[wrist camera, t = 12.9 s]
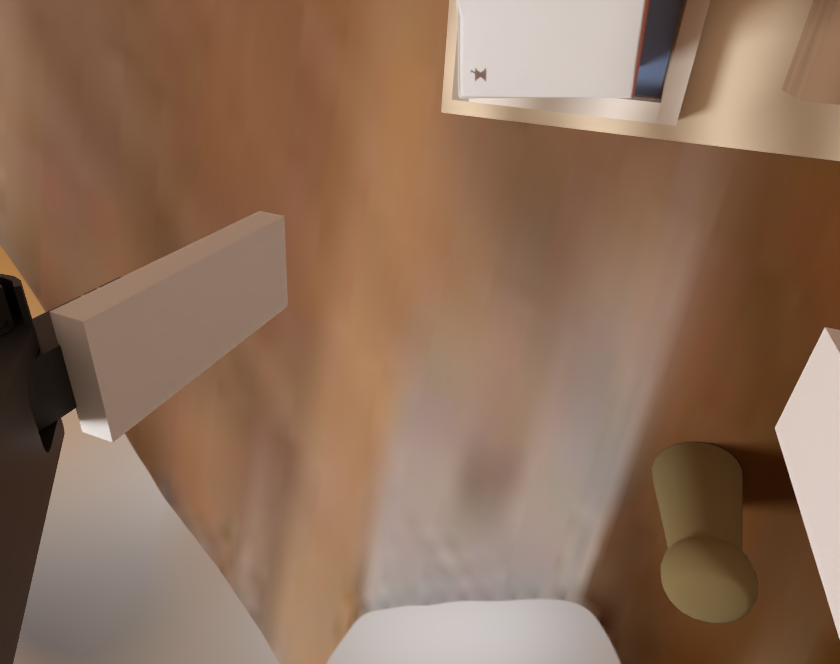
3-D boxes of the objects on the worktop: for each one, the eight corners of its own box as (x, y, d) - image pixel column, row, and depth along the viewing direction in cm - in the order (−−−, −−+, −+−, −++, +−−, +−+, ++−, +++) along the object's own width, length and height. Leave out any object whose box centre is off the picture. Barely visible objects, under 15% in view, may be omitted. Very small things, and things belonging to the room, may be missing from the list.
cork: (662, 508, 44) (667, 637, 35) (642, 446, 42) (642, 566, 33) (750, 503, 42) (780, 641, 33) (733, 436, 40) (760, 564, 30)
